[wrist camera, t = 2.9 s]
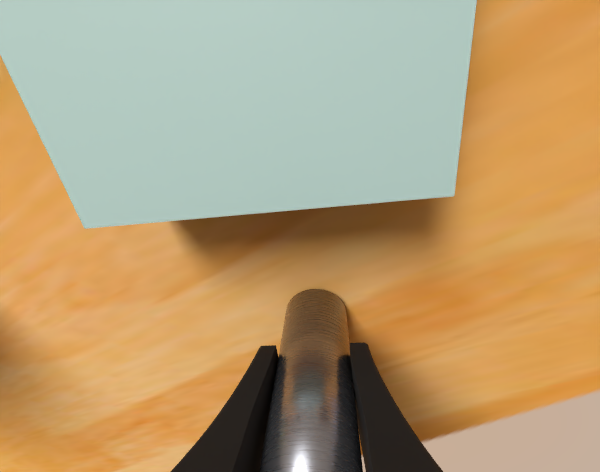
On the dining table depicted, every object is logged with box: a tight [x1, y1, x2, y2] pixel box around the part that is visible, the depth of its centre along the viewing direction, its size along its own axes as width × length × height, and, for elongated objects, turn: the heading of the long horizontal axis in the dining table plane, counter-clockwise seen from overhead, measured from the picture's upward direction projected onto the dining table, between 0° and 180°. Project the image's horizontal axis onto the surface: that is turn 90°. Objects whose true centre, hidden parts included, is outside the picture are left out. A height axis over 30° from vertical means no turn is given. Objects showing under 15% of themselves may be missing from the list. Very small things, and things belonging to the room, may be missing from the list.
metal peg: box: [259, 289, 363, 472], centre depth 10 cm, size 3×3×10 cm
